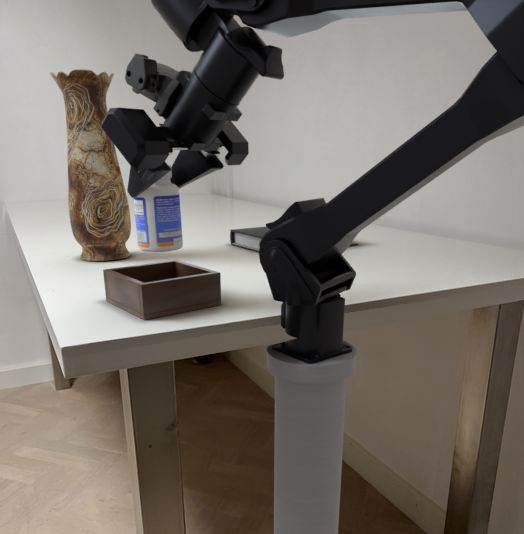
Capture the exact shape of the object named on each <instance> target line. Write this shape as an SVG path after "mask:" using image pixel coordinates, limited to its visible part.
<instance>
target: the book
mask: <svg viewBox="0 0 524 534" xmlns="http://www.w3.org/2000/svg"><path fill="white" fill-rule="evenodd" d="M269 230H271V229H269V228H267V227H266V226H258V227H257V226H256V227H245V228H235V229H234V228H233V229H230V230H229V231H230V232H229V242H230V245H232V246H234V247H235V246H236V247H238V248H242V249H247V250H250V251H253V252H258V253H259V249H260V246H259V242H260V240H261V238H262V237H263V236H264V234H265V233H266V232H268V231H269ZM358 245H359V243H358V242H356V241H355V242H354V241H352V243H351V244H350V245H349V247H352V246H358Z"/></svg>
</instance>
